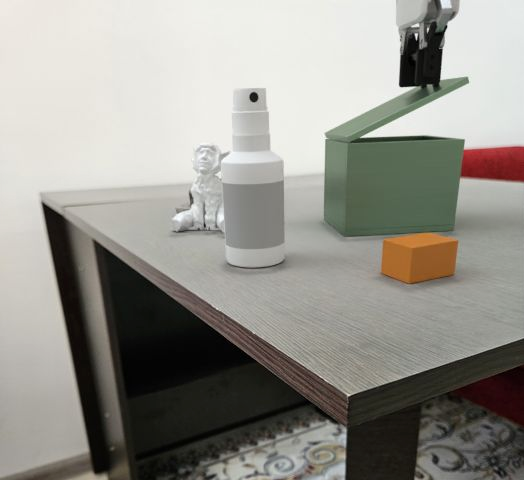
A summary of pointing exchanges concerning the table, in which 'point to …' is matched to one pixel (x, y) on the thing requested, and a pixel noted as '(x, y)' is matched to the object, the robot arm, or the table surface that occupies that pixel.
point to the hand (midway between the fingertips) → (418, 84)
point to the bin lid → (394, 107)
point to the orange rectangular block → (419, 257)
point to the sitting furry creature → (204, 192)
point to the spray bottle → (252, 186)
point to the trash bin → (392, 184)
